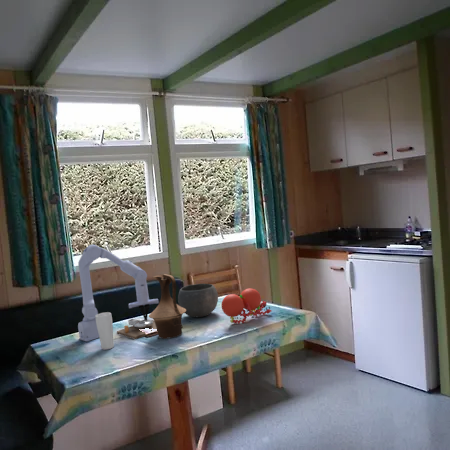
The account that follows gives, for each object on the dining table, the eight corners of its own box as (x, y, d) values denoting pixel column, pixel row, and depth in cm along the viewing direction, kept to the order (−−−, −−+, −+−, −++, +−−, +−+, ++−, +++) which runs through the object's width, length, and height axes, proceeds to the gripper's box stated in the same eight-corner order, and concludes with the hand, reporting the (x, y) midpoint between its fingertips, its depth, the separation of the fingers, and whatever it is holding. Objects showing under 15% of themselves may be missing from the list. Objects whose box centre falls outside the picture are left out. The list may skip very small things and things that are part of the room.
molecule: (238, 329, 203) (227, 296, 205) (224, 331, 212) (214, 299, 213) (277, 311, 219) (267, 280, 220) (263, 313, 227) (253, 284, 229)
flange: (157, 324, 221) (156, 319, 221) (141, 330, 214) (141, 325, 214) (138, 321, 231) (137, 316, 231) (123, 326, 225) (122, 321, 224)
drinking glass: (107, 351, 196) (102, 317, 194) (96, 350, 199) (91, 316, 198) (119, 345, 201) (114, 312, 200) (108, 344, 205) (103, 311, 204)
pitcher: (197, 331, 208) (189, 270, 206) (168, 343, 196) (160, 279, 194) (172, 327, 220) (164, 269, 218) (143, 338, 208) (135, 277, 206)
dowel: (126, 333, 215) (125, 326, 215) (124, 332, 216) (123, 326, 216) (129, 332, 216) (128, 325, 216) (127, 331, 218) (126, 325, 217)
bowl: (205, 322, 221) (201, 292, 220) (172, 320, 232) (168, 291, 231) (227, 310, 238) (223, 282, 237) (195, 309, 249) (191, 282, 248)
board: (135, 339, 208) (134, 334, 208) (116, 333, 220) (116, 329, 220) (171, 326, 221) (170, 322, 221) (152, 321, 234) (151, 317, 234)
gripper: (156, 289, 234) (159, 315, 235) (127, 293, 230) (130, 320, 231) (157, 291, 227) (161, 318, 228) (127, 296, 223) (131, 323, 224)
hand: (145, 319), depth 229 cm, fingers closed
